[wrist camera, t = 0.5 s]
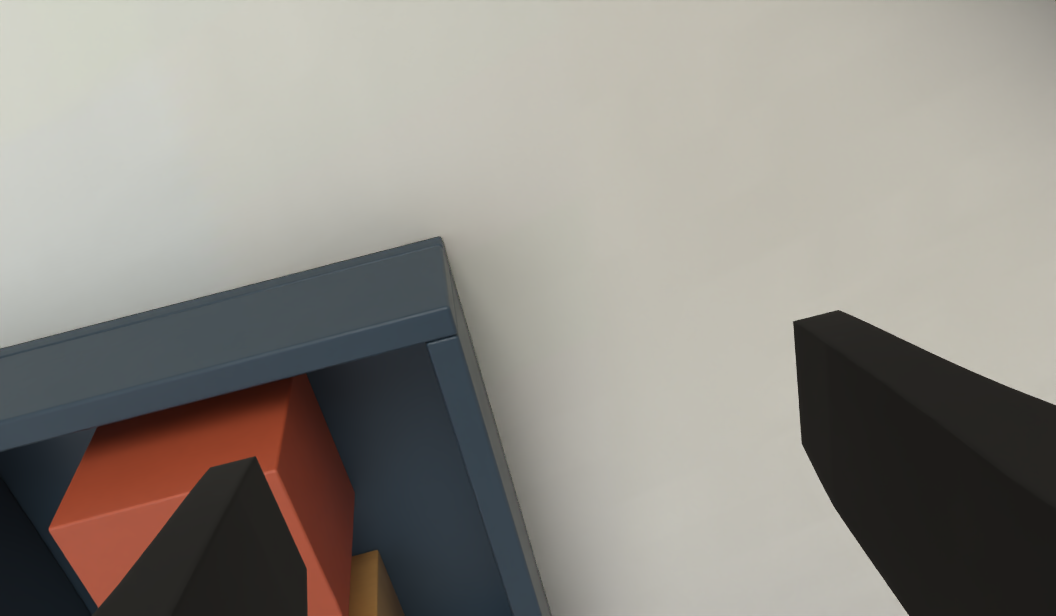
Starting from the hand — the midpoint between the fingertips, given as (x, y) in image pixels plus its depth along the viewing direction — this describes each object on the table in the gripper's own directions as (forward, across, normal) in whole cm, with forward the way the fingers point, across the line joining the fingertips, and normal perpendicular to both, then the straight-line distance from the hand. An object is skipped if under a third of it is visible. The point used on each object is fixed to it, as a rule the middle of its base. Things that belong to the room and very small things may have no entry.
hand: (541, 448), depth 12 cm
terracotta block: (+9, +7, +5) cm, 13 cm away
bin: (+10, +7, +8) cm, 15 cm away
